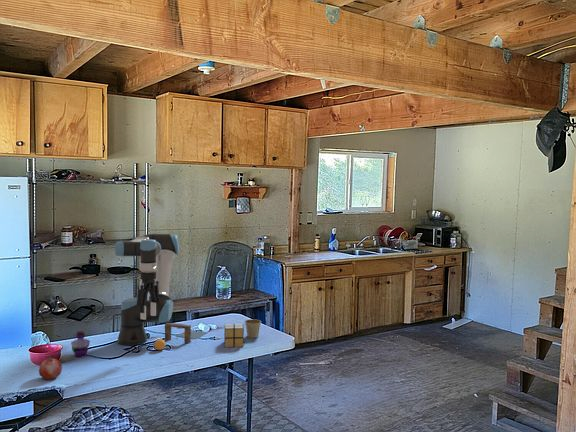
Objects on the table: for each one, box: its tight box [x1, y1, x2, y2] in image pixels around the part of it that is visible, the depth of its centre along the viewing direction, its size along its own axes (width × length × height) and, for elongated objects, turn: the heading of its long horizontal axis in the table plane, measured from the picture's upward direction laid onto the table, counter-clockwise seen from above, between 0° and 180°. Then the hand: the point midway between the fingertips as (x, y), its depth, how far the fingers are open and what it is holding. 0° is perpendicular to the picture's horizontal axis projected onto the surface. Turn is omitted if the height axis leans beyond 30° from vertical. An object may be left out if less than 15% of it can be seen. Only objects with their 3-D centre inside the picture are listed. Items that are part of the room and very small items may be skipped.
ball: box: [153, 338, 166, 351], centre depth 260 cm, size 6×6×6 cm
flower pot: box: [244, 318, 262, 339], centre depth 285 cm, size 9×9×9 cm
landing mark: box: [176, 330, 208, 340], centre depth 288 cm, size 13×13×1 cm
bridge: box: [164, 322, 192, 345], centre depth 274 cm, size 3×14×9 cm, turn 68°
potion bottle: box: [70, 330, 91, 358], centre depth 249 cm, size 9×9×12 cm
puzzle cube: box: [223, 323, 245, 348], centre depth 271 cm, size 10×10×10 cm
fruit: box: [38, 355, 63, 381], centre depth 220 cm, size 9×10×10 cm
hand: (148, 317), depth 250 cm, fingers open, 7 cm apart
